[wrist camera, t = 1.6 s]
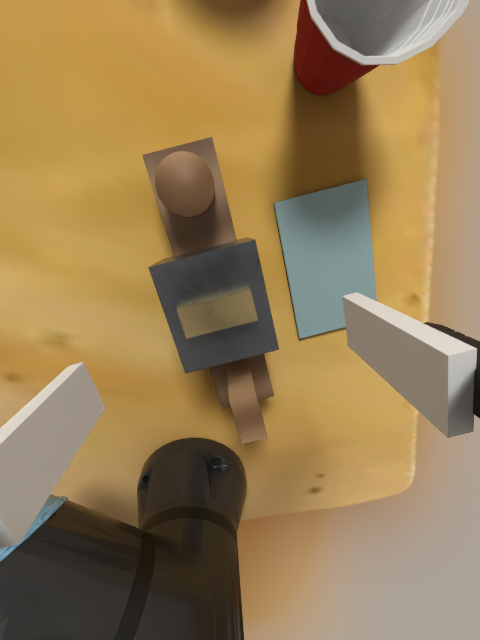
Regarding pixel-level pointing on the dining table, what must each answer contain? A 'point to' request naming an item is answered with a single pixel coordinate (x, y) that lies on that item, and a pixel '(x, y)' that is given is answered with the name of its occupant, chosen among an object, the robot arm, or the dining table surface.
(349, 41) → the plastic cup
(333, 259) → the rubber mat
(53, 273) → the dining table surface
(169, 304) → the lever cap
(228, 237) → the plane body
